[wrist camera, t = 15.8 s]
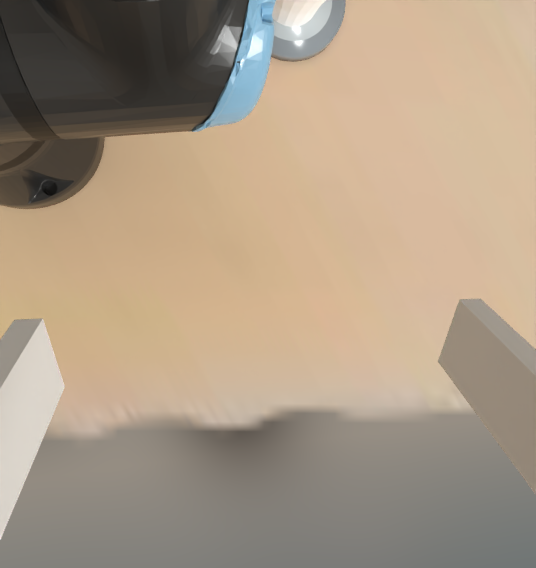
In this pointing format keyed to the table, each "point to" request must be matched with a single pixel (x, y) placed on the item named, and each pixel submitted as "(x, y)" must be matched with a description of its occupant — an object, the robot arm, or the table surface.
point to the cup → (295, 11)
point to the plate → (308, 33)
